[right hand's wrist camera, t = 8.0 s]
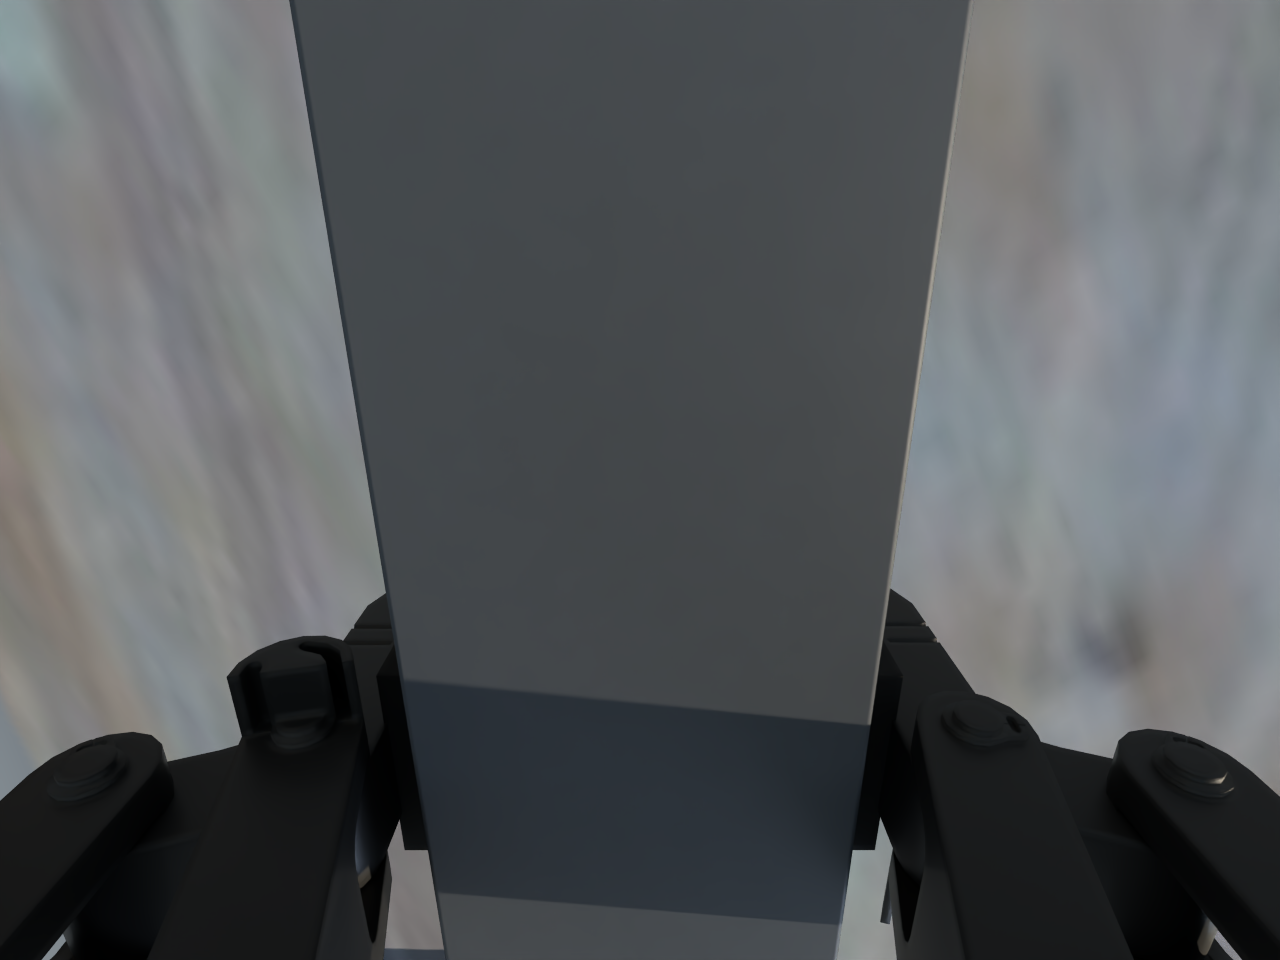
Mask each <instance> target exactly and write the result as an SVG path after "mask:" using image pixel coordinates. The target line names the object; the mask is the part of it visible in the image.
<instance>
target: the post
mask: <svg viewBox="0 0 1280 960" xmlns="http://www.w3.org/2000/svg"><path fill="white" fill-rule="evenodd" d="M289 1H290V8H291V14H292V20H293V26H294V32H295V38H296V44H297V50H298V57H299V63H300V69H301V75H302V81H303V87H304V93H305V99H306V106H307V112H308V118H309V124H310V130H311V136H312V142H313V148H314V155H315V161H316V167H317V173H318V179H319V185H320V191H321V198H322V204H323V210H324V216H325V222H326V228H327V234H328V240H329V247H330V253H331V259H332V265H333V271H334V277H335V283H336V289H337V296H338V302H339V308H340V314H341V320H342V326H343V332H344V338H345V345H346V351H347V357H348V363H349V369H350V375H351V381H352V387H353V394H354V400H355V406H356V412H357V418H358V424H359V430H360V437H361V443H362V449H363V455H364V461H365V467H366V473H367V479H368V486H369V492H370V498H371V504H372V510H373V516H374V522H375V528H376V535H377V541H378V547H379V553H380V559H381V565H382V571H383V577H384V584H385V590H386V596H387V602H388V608H389V614H390V620H391V626H392V633H393V639H394V645H395V651H396V657H397V663H398V669H399V676H400V682H401V688H402V694H403V700H404V706H405V712H406V718H407V725H408V731H409V737H410V743H411V749H412V755H413V761H414V767H415V774H416V780H417V786H418V792H419V798H420V804H421V810H422V816H423V823H424V829H425V835H426V841H427V847H428V853H429V859H430V865H431V872H432V878H433V884H434V890H435V896H436V902H437V908H438V915H439V921H440V927H441V933H442V939H443V945H444V951H445V957H446V960H837V955H838V948H839V941H840V934H841V927H842V920H843V913H844V906H845V899H846V892H847V885H848V879H849V872H850V865H851V858H852V851H853V844H854V837H855V830H856V823H857V816H858V809H859V802H860V795H861V788H862V781H863V774H864V767H865V760H866V753H867V746H868V739H869V732H870V725H871V718H872V711H873V704H874V697H875V690H876V683H877V676H878V669H879V662H880V655H881V648H882V641H883V634H884V627H885V621H886V614H887V607H888V600H889V593H890V586H891V579H892V572H893V565H894V558H895V551H896V544H897V537H898V530H899V523H900V516H901V509H902V502H903V495H904V488H905V481H906V474H907V467H908V460H909V453H910V446H911V439H912V432H913V425H914V418H915V411H916V404H917V397H918V390H919V383H920V376H921V369H922V363H923V356H924V349H925V342H926V335H927V328H928V321H929V314H930V307H931V300H932V293H933V286H934V279H935V272H936V265H937V258H938V251H939V244H940V237H941V230H942V223H943V216H944V209H945V202H946V195H947V188H948V181H949V174H950V167H951V160H952V153H953V146H954V139H955V132H956V125H957V118H958V111H959V104H960V98H961V91H962V84H963V77H964V70H965V63H966V56H967V49H968V42H969V35H970V28H971V21H972V14H973V7H974V0H289Z"/></svg>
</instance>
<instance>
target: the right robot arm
mask: <svg viewBox="0 0 1280 960" xmlns="http://www.w3.org/2000/svg"><path fill="white" fill-rule="evenodd" d="M227 680H228V684H229V688H230V692H231V696H232V700H233V703H234V707H235V711H236V715H237V719H238V723H239V727H240V730H241V734H242V738H241V740H240V743H239V745H237V746H233V747H230V748H226V749H223V750H219V751H214V752H210V753H205V754H201V755H196V756H192V757H187V758H182V759H178V760H173V761H169V762H167V759H166V756H165V753H164V750H163V746H162V744H161V743H160V742H159V741H158V740H157V739H155V738H154V737H153V736H152V735H148V734H142V733H136V732H128V733H120V734H111V735H106V736H103V737H99V738H95V739H93V740H89V741H86V742H83V743H80V744H78V745H76V746H74V747H72V748H70V749H68V750H66V751H64V752H62V753H60V754H58V755H56V756H54V757H52V758H51V759H50V760H48V761H47V762H46V763H44V764H43V765H42V766H40V767H39V768H37V769H36V770H35V771H33V772H32V773H31V774H29V775H28V776H27V777H26V778H25V779H24V780H23V781H22V782H21V783H19V784H18V785H17V786H16V787H15V788H14V789H13V790H12V791H11V792H9V793H8V794H7V795H6V796H5V797H4V798H3V799H2V800H1V801H0V960H42V959H43V957H44V956H45V955H46V954H47V952H48V951H49V950H50V949H51V947H52V946H53V945H54V944H55V942H56V941H57V940H58V939H59V938H60V936H61V935H62V934H63V935H64V937H65V939H66V942H65V943H64V944H63V946H62V947H61V948H60V949H59V951H58V952H57V953H56V954H55V956H53V957H52V958H51V959H50V960H383V957H384V948H385V938H386V929H387V920H388V911H389V902H390V892H391V883H392V876H391V869H390V862H389V856H388V847H389V844H390V842H391V839H392V837H393V834H394V832H395V829H396V827H397V824H398V822H399V819H400V824H401V830H402V836H403V842H404V848H405V850H428V847H427V841H426V835H425V829H424V823H423V816H422V810H421V804H420V798H419V792H418V786H417V780H416V774H415V767H414V761H413V755H412V749H411V743H410V737H409V731H408V725H407V718H406V712H405V706H404V700H403V694H402V688H401V682H400V676H399V669H398V663H397V657H396V651H395V645H394V639H393V633H392V626H391V620H390V614H389V608H388V602H387V596H386V593H385V594H384V595H383V596H381V597H380V598H378V599H377V600H375V601H374V602H372V603H371V604H370V605H368V606H367V607H366V609H365V610H364V612H363V613H362V615H361V616H360V617H359V619H358V620H357V622H356V623H355V625H354V629H351V630H350V632H349V633H348V635H347V636H346V638H345V639H344V640H343V641H342V640H340V639H336V638H332V637H328V636H302V637H297V638H293V639H288V640H283V641H279V642H277V643H274V644H272V645H270V646H267V647H265V648H262V649H260V650H257V651H256V652H254V653H253V654H251V655H250V656H248V657H247V658H245V659H244V660H242V661H241V662H239V663H238V664H237V665H236V666H235V668H234V669H233V670H232V671H231V672H230V674H229V675H228V676H227ZM880 817H881V820H882V822H883V825H884V827H885V830H886V832H887V835H888V837H889V840H890V842H891V845H892V847H893V850H892V856H891V862H890V867H889V873H888V879H887V884H886V890H885V896H884V901H883V907H882V914H881V922H882V923H886V924H890V920H891V914H892V918H893V928H894V937H895V946H896V955H897V960H1233V959H1232V958H1231V957H1230V956H1229V955H1228V954H1227V953H1226V952H1225V951H1224V950H1223V948H1222V947H1221V946H1220V945H1219V943H1218V942H1217V941H1216V940H1215V935H1216V933H1217V931H1219V932H1220V933H1221V934H1222V936H1223V937H1224V938H1225V939H1226V940H1227V942H1228V943H1229V944H1230V945H1231V947H1232V948H1233V949H1234V950H1235V952H1236V953H1237V954H1238V955H1239V956H1240V958H1241V959H1242V960H1280V797H1279V796H1278V795H1277V794H1276V793H1275V792H1274V791H1273V790H1272V789H1271V788H1269V787H1268V786H1267V785H1266V784H1265V783H1264V782H1263V781H1262V780H1261V779H1259V778H1258V777H1257V776H1256V775H1255V774H1254V773H1253V772H1252V771H1250V770H1249V769H1248V768H1246V767H1245V766H1244V765H1242V764H1241V763H1239V762H1238V761H1237V760H1235V759H1234V758H1233V757H1231V756H1230V755H1228V754H1227V753H1225V752H1223V751H1221V750H1219V749H1217V748H1215V747H1213V746H1210V745H1208V744H1206V743H1205V742H1203V741H1201V740H1198V739H1195V738H1192V737H1188V736H1185V735H1182V734H1178V733H1175V732H1170V731H1162V730H1153V729H1144V730H1138V731H1132V732H1128V733H1127V734H1126V735H1125V736H1124V737H1122V738H1121V739H1120V740H1119V741H1118V744H1117V748H1116V751H1115V754H1114V757H1113V759H1111V758H1107V757H1102V756H1098V755H1093V754H1088V753H1084V752H1079V751H1075V750H1070V749H1065V748H1061V747H1057V746H1054V745H1050V744H1047V743H1043V742H1041V741H1040V739H1039V737H1038V735H1037V733H1036V732H1035V731H1034V729H1033V728H1032V726H1031V725H1030V724H1029V722H1028V721H1027V720H1026V719H1025V718H1023V717H1022V716H1021V715H1019V714H1018V713H1017V712H1015V711H1014V710H1013V709H1012V708H1010V707H1009V706H1006V705H1004V704H1002V703H1000V702H998V701H996V700H994V699H991V698H989V697H986V696H982V695H978V694H975V692H974V691H973V690H972V688H971V687H970V685H969V684H968V682H967V681H966V680H965V678H964V677H963V675H962V674H961V672H960V671H959V670H958V668H957V667H956V665H955V664H954V662H953V661H952V660H951V658H950V657H949V655H948V654H947V652H946V651H945V650H944V648H943V647H942V645H941V644H940V643H937V638H936V637H935V635H934V634H933V632H932V631H931V630H930V628H929V627H928V626H926V622H925V621H924V620H923V618H922V617H921V615H920V614H919V612H918V611H917V610H916V608H915V607H914V605H913V604H912V603H911V602H909V601H908V600H906V599H905V598H903V597H902V596H901V595H899V594H898V593H896V592H895V591H893V590H892V589H890V593H889V600H888V607H887V614H886V621H885V627H884V634H883V641H882V648H881V655H880V662H879V669H878V676H877V683H876V690H875V697H874V704H873V711H872V718H871V725H870V732H869V739H868V746H867V753H866V760H865V767H864V774H863V781H862V788H861V795H860V802H859V809H858V816H857V823H856V830H855V837H854V844H853V850H875V845H876V839H877V833H878V827H879V821H880Z"/></svg>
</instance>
